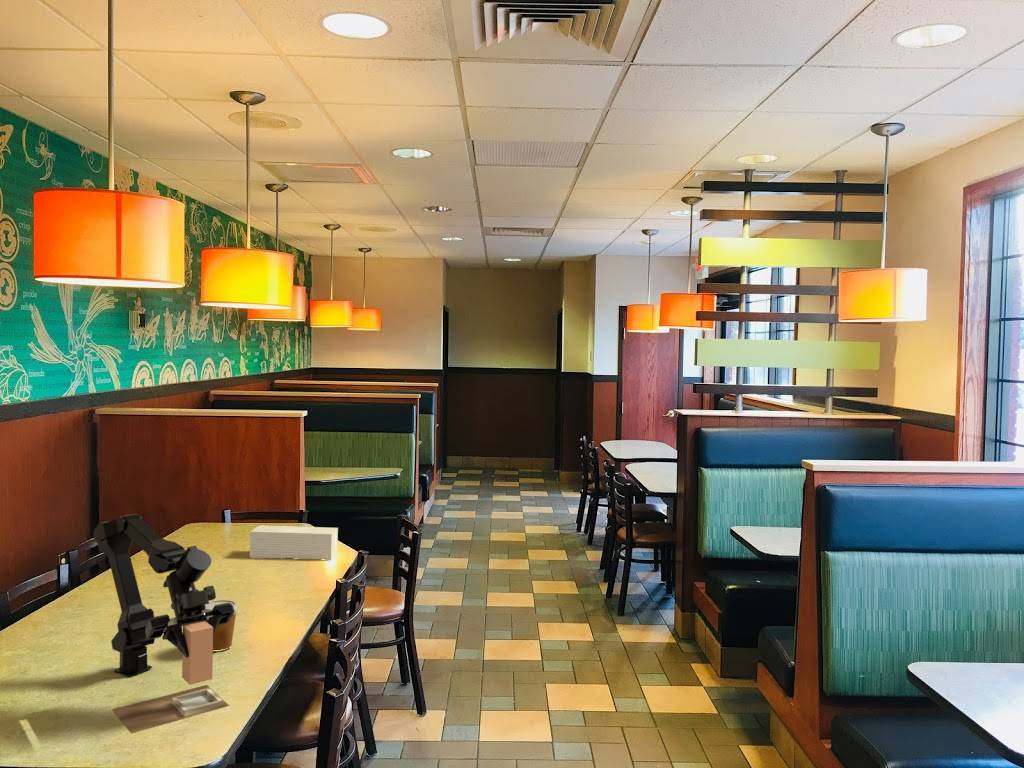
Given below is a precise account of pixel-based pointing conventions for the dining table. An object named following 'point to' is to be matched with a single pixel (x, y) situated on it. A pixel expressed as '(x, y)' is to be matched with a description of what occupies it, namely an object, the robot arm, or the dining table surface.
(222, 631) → the disposable coffee cup
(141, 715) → the baseboard
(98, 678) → the dining table surface
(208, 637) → the pillar
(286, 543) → the stack of papers
